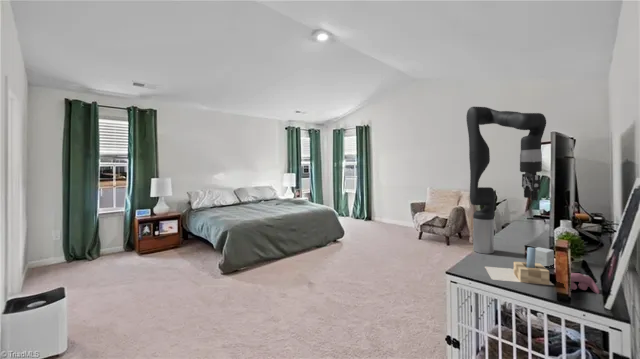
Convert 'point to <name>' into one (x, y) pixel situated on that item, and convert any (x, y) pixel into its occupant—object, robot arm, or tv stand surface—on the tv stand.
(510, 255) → the tv stand surface
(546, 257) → the product box
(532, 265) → the dowel
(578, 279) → the video game controller
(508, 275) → the felt mat
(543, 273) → the checkered wooden block
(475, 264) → the tv stand surface
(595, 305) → the tv stand surface
